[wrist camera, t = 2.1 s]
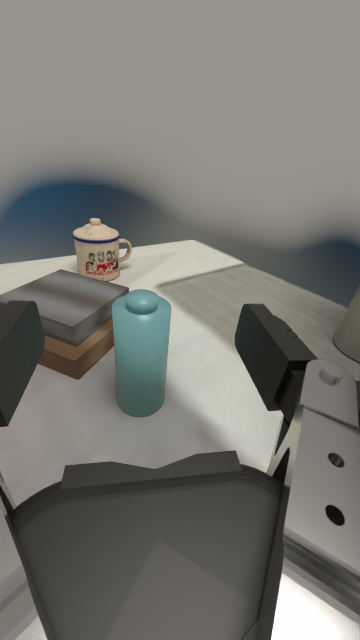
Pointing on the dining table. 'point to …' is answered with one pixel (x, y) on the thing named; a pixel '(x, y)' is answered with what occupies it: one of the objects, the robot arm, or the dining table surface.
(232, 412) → the dining table surface
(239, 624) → the robot arm
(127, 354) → the teal bottle
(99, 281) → the tower base
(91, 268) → the teacup with lid
